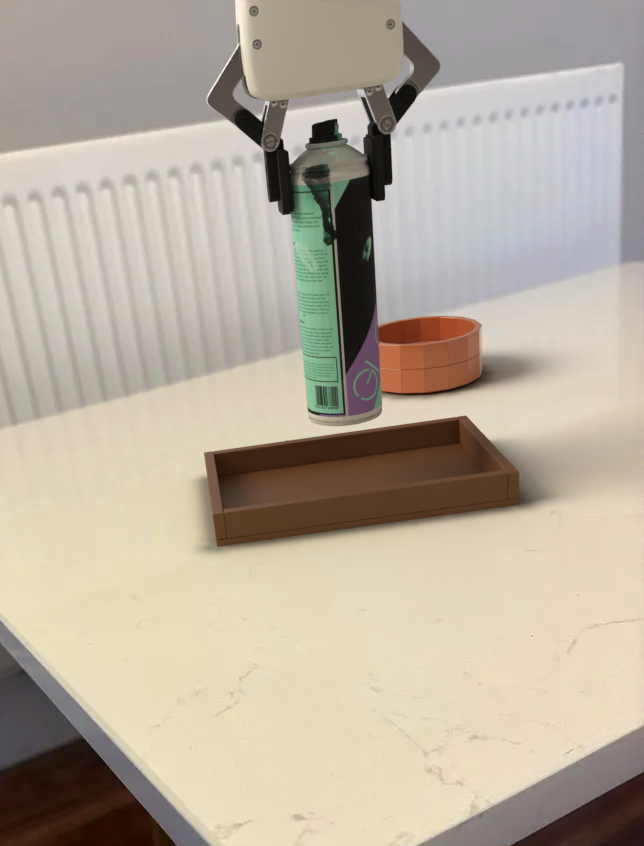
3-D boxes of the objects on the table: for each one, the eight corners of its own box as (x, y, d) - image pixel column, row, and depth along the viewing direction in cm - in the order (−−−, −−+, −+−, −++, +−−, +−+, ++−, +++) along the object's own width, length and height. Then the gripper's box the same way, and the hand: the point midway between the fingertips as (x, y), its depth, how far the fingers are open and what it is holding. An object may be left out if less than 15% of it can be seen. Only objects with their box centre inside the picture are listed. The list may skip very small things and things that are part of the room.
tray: (466, 445, 85) (466, 415, 84) (519, 506, 73) (519, 471, 72) (207, 481, 85) (203, 452, 84) (217, 548, 73) (212, 514, 72)
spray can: (388, 420, 74) (373, 115, 65) (312, 430, 74) (286, 128, 65) (375, 399, 79) (360, 112, 69) (304, 408, 79) (279, 124, 70)
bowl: (464, 358, 108) (463, 310, 105) (495, 386, 98) (495, 334, 95) (357, 373, 108) (354, 326, 106) (378, 403, 98) (376, 351, 96)
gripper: (435, -125, 65) (442, 182, 73) (165, -83, 65) (202, 217, 73) (468, -149, 58) (472, 192, 66) (167, -102, 58) (208, 231, 66)
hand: (330, 202), depth 69 cm, fingers closed on spray can, 5 cm apart
